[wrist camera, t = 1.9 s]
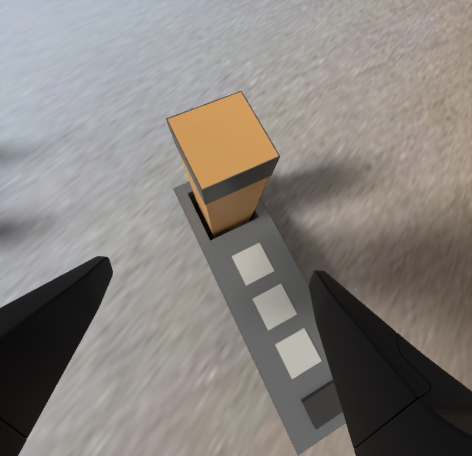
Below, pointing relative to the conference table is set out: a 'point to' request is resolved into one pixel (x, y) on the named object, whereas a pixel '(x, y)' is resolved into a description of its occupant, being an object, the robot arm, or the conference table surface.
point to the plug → (224, 159)
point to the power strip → (273, 320)
